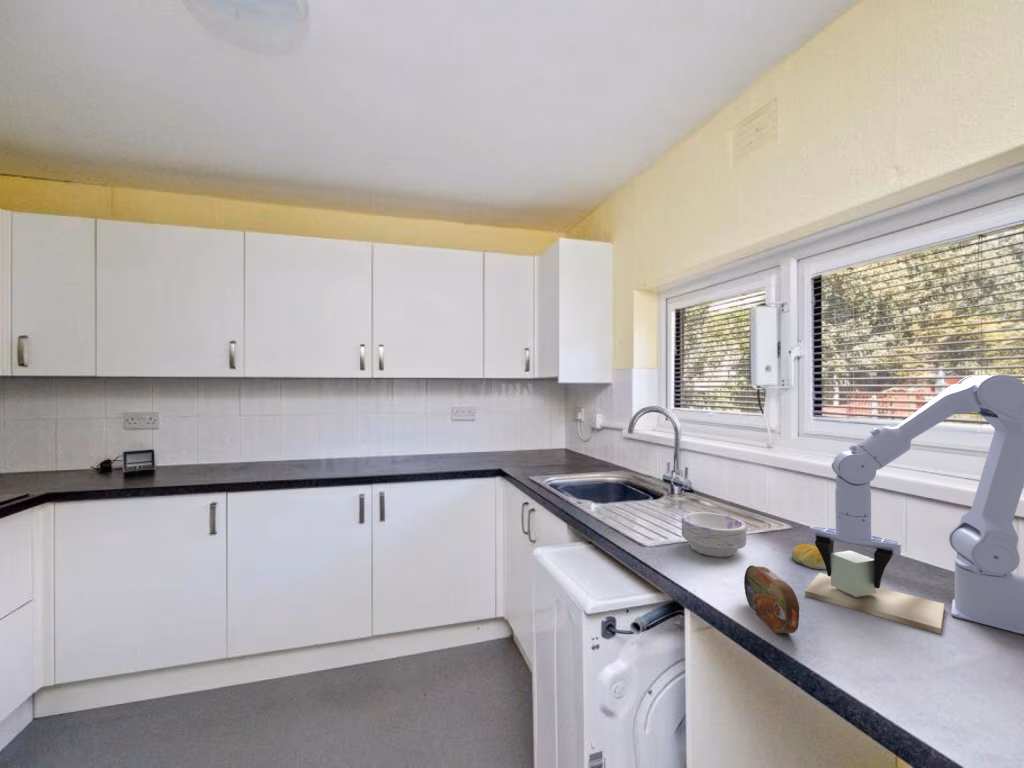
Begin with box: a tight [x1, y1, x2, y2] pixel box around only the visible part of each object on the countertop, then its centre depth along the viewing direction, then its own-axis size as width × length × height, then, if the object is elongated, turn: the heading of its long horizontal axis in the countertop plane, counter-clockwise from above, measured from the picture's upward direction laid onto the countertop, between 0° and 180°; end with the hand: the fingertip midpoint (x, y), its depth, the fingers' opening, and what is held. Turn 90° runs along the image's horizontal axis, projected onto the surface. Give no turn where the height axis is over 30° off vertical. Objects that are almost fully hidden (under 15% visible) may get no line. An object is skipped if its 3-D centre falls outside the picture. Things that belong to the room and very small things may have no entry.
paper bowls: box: [681, 511, 748, 558], centre depth 117 cm, size 15×15×8 cm
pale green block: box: [831, 550, 876, 597], centre depth 91 cm, size 5×5×7 cm
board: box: [804, 572, 945, 635], centre depth 89 cm, size 20×12×1 cm, turn 44°
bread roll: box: [791, 543, 826, 570], centre depth 109 cm, size 8×9×4 cm
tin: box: [743, 565, 800, 634], centre depth 83 cm, size 15×3×8 cm, turn 177°
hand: (853, 580), depth 91 cm, fingers closed on pale green block, 7 cm apart
